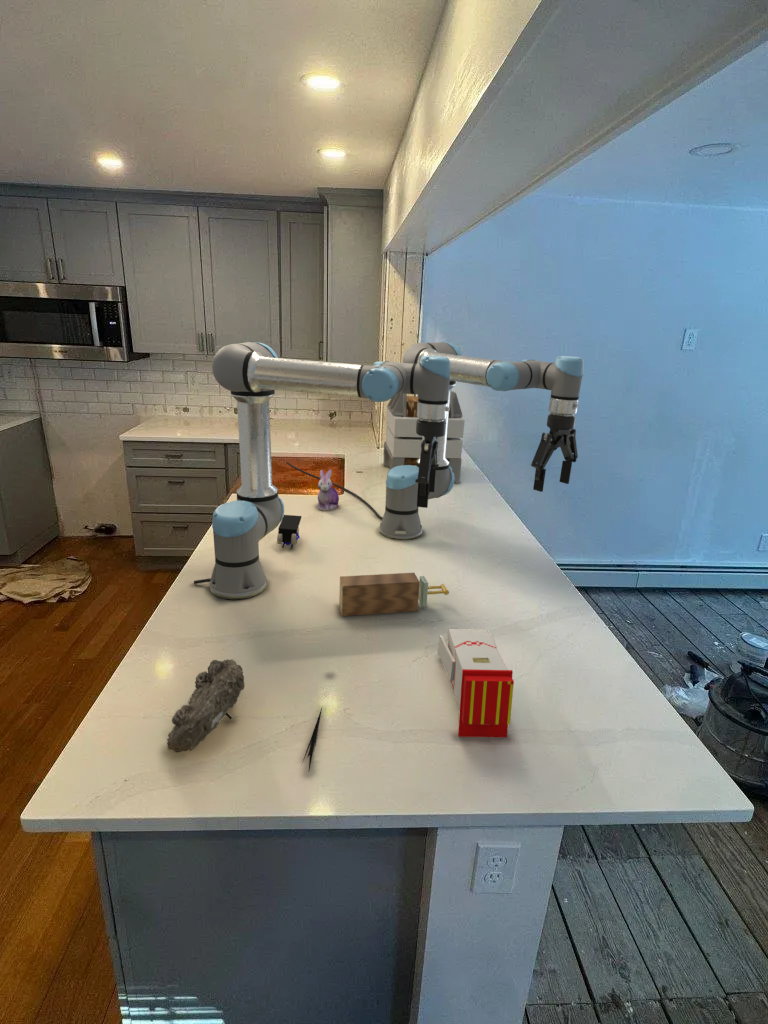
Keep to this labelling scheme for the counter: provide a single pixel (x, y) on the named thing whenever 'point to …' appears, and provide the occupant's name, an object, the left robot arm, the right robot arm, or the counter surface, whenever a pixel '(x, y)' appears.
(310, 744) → the feather
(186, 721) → the fossil
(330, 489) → the figurine
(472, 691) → the toy
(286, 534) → the figurine character
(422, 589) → the drawer
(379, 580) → the cabinet
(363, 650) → the counter surface
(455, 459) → the transformer
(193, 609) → the counter surface
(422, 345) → the right robot arm
